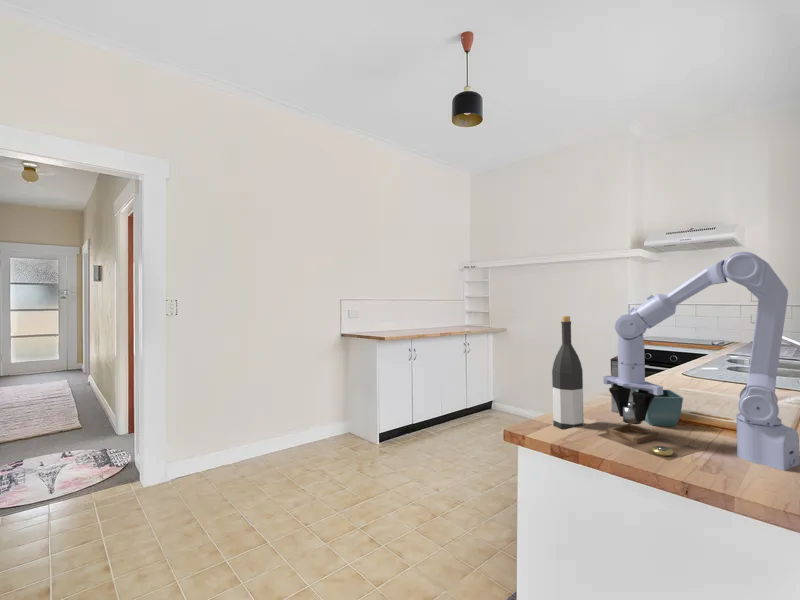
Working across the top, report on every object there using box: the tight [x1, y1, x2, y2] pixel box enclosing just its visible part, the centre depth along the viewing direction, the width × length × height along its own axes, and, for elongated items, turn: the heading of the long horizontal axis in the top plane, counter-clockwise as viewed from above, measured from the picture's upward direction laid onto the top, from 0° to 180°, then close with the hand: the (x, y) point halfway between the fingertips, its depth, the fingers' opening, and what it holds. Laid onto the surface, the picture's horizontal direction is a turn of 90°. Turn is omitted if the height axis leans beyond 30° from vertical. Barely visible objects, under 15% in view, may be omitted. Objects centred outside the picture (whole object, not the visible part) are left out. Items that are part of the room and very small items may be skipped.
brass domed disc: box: [652, 446, 673, 457], centre depth 93 cm, size 4×4×1 cm
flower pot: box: [636, 389, 684, 427], centre depth 114 cm, size 9×9×9 cm
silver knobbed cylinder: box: [622, 402, 642, 425], centre depth 104 cm, size 4×4×5 cm
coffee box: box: [610, 355, 636, 413], centre depth 129 cm, size 9×6×16 cm
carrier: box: [597, 423, 704, 461], centre depth 100 cm, size 18×12×2 cm, turn 25°
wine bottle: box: [551, 315, 585, 430], centre depth 116 cm, size 8×8×30 cm
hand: (632, 418), depth 104 cm, fingers closed on silver knobbed cylinder, 4 cm apart
